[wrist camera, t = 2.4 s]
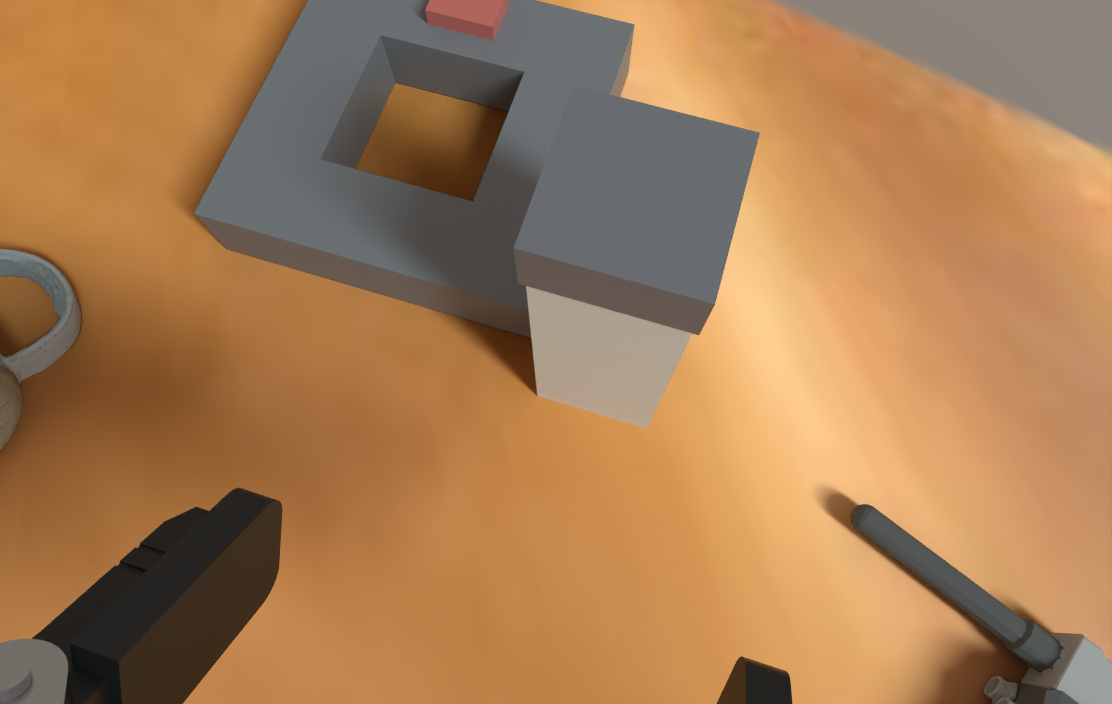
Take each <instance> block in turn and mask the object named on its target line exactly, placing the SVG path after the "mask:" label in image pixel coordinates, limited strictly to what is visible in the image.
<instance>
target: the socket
mask: <svg viewBox="0 0 1112 704" xmlns="http://www.w3.org/2000/svg"><path fill="white" fill-rule="evenodd" d="M633 32H634V24H630V23H626V22H622V21H618V20H614V19H609V18H605V17H601V16H597V15H593V14H589V13H585V12H581V11H577V10H572V9H568V8H564V7H560V6H556V5H552V4H548V3H544V2H540V1H536V0H308V1H307V3H306V5H305V7H304V9H303V11H302V12H301V14H300V16H299V18H298V20H297V22H296V24H295V25H294V27H293V29H292V31H291V33H290V35H289V37H288V39H287V40H286V42H285V44H284V46H283V48H282V50H281V52H280V53H279V55H278V57H277V59H276V61H275V63H274V65H273V67H272V68H271V70H270V72H269V74H268V76H267V78H266V80H265V81H264V83H263V85H262V87H261V89H260V91H259V93H258V94H257V96H256V98H255V100H254V102H253V104H252V106H251V108H250V109H249V111H248V113H247V115H246V117H245V119H244V121H243V122H242V124H241V126H240V128H239V130H238V132H237V134H236V136H235V137H234V139H233V141H232V143H231V145H230V147H229V149H228V150H227V152H226V154H225V156H224V158H223V160H222V162H221V164H220V165H219V167H218V169H217V171H216V173H215V175H214V177H213V178H212V180H211V182H210V184H209V186H208V188H207V190H206V192H205V193H204V195H203V197H202V199H201V201H200V203H199V205H198V206H197V208H196V210H195V212H194V215H195V216H196V217H197V218H198V219H199V220H200V221H201V222H202V223H203V224H204V225H205V227H206V228H207V229H208V230H209V231H210V232H211V233H212V234H213V235H214V236H215V237H216V238H217V239H218V241H219V242H220V243H221V244H222V245H223V246H224V247H225V248H226V249H228V250H231V251H235V252H238V253H242V254H245V255H248V256H252V257H255V258H259V259H262V260H265V261H269V262H272V263H276V264H279V265H283V266H286V267H289V268H293V269H296V270H300V271H303V272H306V273H310V274H313V275H317V276H320V277H324V278H327V279H330V280H334V281H337V282H341V283H344V284H347V285H351V286H354V287H358V288H361V289H364V290H368V291H371V292H375V293H378V294H382V295H385V296H388V297H392V298H395V299H399V300H402V301H405V302H409V303H412V304H416V305H419V306H422V307H426V308H429V309H433V310H436V311H440V312H443V313H446V314H450V315H453V316H457V317H460V318H463V319H467V320H470V321H474V322H477V323H481V324H484V325H487V326H491V327H494V328H498V329H501V330H504V331H508V332H511V333H515V334H518V335H521V336H525V337H528V338H531V329H530V320H529V310H528V300H527V291H526V286H525V285H521V284H518V279H517V271H516V263H515V255H514V245H515V243H516V240H517V237H518V235H519V232H520V229H521V226H522V224H523V221H524V218H525V216H526V213H527V210H528V208H529V205H530V202H531V199H532V197H533V194H534V191H535V189H536V186H537V183H538V180H539V178H540V175H541V172H542V170H543V167H544V164H545V161H546V159H547V156H548V153H549V151H550V148H551V145H552V142H553V140H554V137H555V134H556V132H557V129H558V126H559V123H560V121H561V118H562V115H563V113H564V110H565V107H566V105H567V102H568V99H569V96H570V94H571V91H572V88H573V86H578V87H582V88H586V89H590V90H594V91H598V92H601V93H605V94H609V95H613V96H617V97H620V95H621V92H622V89H623V86H624V83H625V81H626V78H627V75H628V71H629V63H630V55H631V47H632V39H633ZM395 82H396V83H400V84H404V85H408V86H412V87H416V88H419V89H423V90H427V91H431V92H435V93H439V94H442V95H446V96H450V97H454V98H458V99H462V100H465V101H469V102H473V103H477V104H481V105H485V106H488V107H492V108H496V109H500V110H504V111H508V115H507V117H506V120H505V122H504V125H503V127H502V130H501V132H500V135H499V137H498V140H497V142H496V145H495V147H494V150H493V152H492V155H491V157H490V160H489V162H488V165H487V167H486V170H485V172H484V175H483V177H482V180H481V182H480V185H479V187H478V190H477V192H476V195H475V197H474V200H473V201H470V200H466V199H463V198H459V197H455V196H452V195H448V194H444V193H441V192H437V191H433V190H430V189H426V188H423V187H419V186H415V185H412V184H408V183H404V182H401V181H397V180H394V179H390V178H386V177H383V176H379V175H375V174H372V173H368V172H364V171H361V170H357V169H355V168H356V166H357V163H358V161H359V159H360V157H361V155H362V153H363V151H364V148H365V146H366V144H367V142H368V140H369V138H370V135H371V133H372V131H373V129H374V127H375V125H376V123H377V120H378V118H379V116H380V114H381V112H382V110H383V108H384V105H385V103H386V101H387V99H388V97H389V95H390V93H391V90H392V88H393V86H394V84H395Z"/></svg>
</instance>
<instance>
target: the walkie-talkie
mask: <svg viewBox="0 0 1112 704" xmlns="http://www.w3.org/2000/svg"><path fill="white" fill-rule="evenodd" d="M850 516H851V523H852V525H853V526H854V528H855V529H857V530H858V531H859V532H861V533H862V534H863V535H865V536H866V537H867V538H868V539H870V540H871V541H872V542H874V543H875V544H876V545H878V546H879V547H880V548H882V549H883V550H884V551H886V552H887V553H888V554H889V555H891V556H892V557H893V558H895V559H896V560H897V561H899V562H900V563H901V564H903V565H904V566H905V567H906V568H908V569H909V570H910V571H912V572H913V573H914V574H916V575H917V576H918V577H920V578H921V579H922V580H924V581H925V582H926V583H927V584H929V585H930V586H931V587H933V588H934V589H935V590H937V591H938V592H939V593H941V594H942V595H943V596H944V597H946V598H947V599H948V600H950V601H951V602H952V603H954V604H955V605H956V606H958V607H959V608H960V609H961V610H963V611H964V612H965V613H967V614H968V615H969V616H971V617H972V618H973V619H975V620H976V621H977V622H979V623H980V624H981V625H982V626H984V627H985V628H986V629H988V630H989V631H990V632H992V633H993V634H994V635H996V636H997V637H998V638H999V639H1001V640H1002V641H1003V642H1005V644H1006V648H1007V649H1008V650H1009V651H1010V652H1012V653H1013V654H1014V655H1016V656H1017V657H1018V658H1020V659H1021V660H1022V661H1023V662H1025V663H1026V664H1027V665H1029V666H1030V668H1029V669H1028V671H1027V673H1026V675H1025V676H1024V678H1023V680H1022V682H1021V683H1022V684H1016V683H1015V682H1009V681H1005V680H1004V679H1003V678H1001V677H1000V676H994V677H993V678H992V679H990V680H989V681H988V682H987V684H986V686H985V689H984V693H985V695H987V696H988V697H989V698H990V699H992V704H1112V662H1111V661H1110V660H1109V659H1107V658H1106V656H1105V654H1104V652H1103V650H1102V649H1101V648H1100V647H1098V646H1097V645H1096V644H1094V643H1093V642H1092V641H1090V640H1089V639H1088V638H1086V637H1085V636H1083V635H1082V634H1069V633H1051V634H1049V633H1048V632H1046V631H1045V630H1044V629H1042V628H1041V627H1040V626H1038V625H1037V624H1036V623H1034V622H1033V621H1032V620H1024V619H1022V618H1021V617H1020V616H1018V615H1017V614H1016V613H1014V612H1013V611H1012V610H1010V609H1009V608H1008V607H1006V606H1005V605H1003V604H1002V603H1001V602H999V601H998V600H997V599H995V598H994V597H993V596H991V595H990V594H989V593H987V592H986V591H985V590H983V589H982V588H981V587H979V586H978V585H977V584H975V583H974V582H973V581H971V580H970V579H969V578H967V577H966V576H965V575H963V574H962V573H961V572H959V571H958V570H957V569H955V568H954V567H953V566H951V565H950V564H949V563H947V562H946V561H945V560H943V559H942V558H941V557H939V556H938V555H937V554H935V553H934V552H933V551H931V550H930V549H929V548H927V547H926V546H925V545H923V544H922V543H921V542H919V541H918V540H917V539H915V538H914V537H913V536H911V535H910V534H909V533H907V532H906V531H905V530H903V529H902V528H901V527H899V526H898V525H897V524H895V523H894V522H893V521H891V520H890V519H889V518H887V517H886V516H885V515H883V514H882V513H881V512H879V511H878V510H877V509H875V508H874V507H873V506H870V505H866V504H863V505H858V506H857V507H856V508H854V509H853V510H852V513H851V515H850Z"/></svg>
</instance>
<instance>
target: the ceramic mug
mask: <svg viewBox="0 0 1112 704" xmlns="http://www.w3.org/2000/svg"><path fill="white" fill-rule="evenodd" d="M0 276H2V277H8V276H12V277H20V278H27V279H31V280H32V281H33V282H36V283H39V284H40V286H41V287H42V288H43V289H44V290H45V292H46V293H47V294H48V295H49V296H50V297H51V299H52V300H53V301H54V311H55V312H56V314H57V315H59V316H60V319H59V321H58V322H57V323H56V324H55V326H54V327H53V328H52V329H51V330H50V332H48V333H47V334H46V335H44V336H43V337H41V338H40V339H38V340H37V341H36V342H34V343H33V344H32V345H30V346H28V347H26V348H23V349H22V350H20V351H18V352H17V353H15V354H14V355H11V356H8V357H5V356H3V355H2V354H1V353H0V450H1V449H2V448H3V447H4V446H5V445H6V443H7V442H8V441H9V439H10V437H11V435H12V434H13V432H14V430H15V428H16V427H17V425H18V422H19V419H20V416H21V413H22V408H23V393H22V389H21V386H20V382H21V381H22V380H25V379H27V378H28V377H30V376H33V375H35V374H37V373H39V372H41V371H43V370H44V369H46V368H48V367H50V366H51V365H52V364H53V363H54V362H55V361H56V360H57V359H58V358H59V357H61V356H63V354H64V353H65V352H66V351H67V350H68V349H69V348H70V347H71V346H72V345H73V343H74V342H75V340H76V338H77V336H78V334H79V332H80V327H81V314H80V307H79V304H78V302H77V299H76V296H75V293H74V291H73V289H72V287H71V285H70V284H69V282H68V280H67V279H66V277H65V276H64V275H63V274H62V273H61V272H60V271H59V269H58V268H56V267H55V266H54V265H52V264H51V263H49V262H48V261H46V260H45V259H43V258H41V257H39V256H36V255H34V254H30V253H27V252H22V251H17V250H7V249H0Z"/></svg>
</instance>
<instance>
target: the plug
mask: <svg viewBox="0 0 1112 704" xmlns="http://www.w3.org/2000/svg"><path fill="white" fill-rule="evenodd" d="M759 134H760V133H758V132H755V131H751V130H747V129H743V128H739V127H735V126H731V125H727V124H723V123H719V122H715V121H711V120H707V119H704V118H700V117H696V116H692V115H688V114H684V113H680V112H676V111H672V110H668V109H664V108H660V107H656V106H653V105H649V104H645V103H641V102H637V101H633V100H629V99H625V98H621V97H617V96H613V95H609V94H605V93H601V92H598V91H594V90H590V89H586V88H582V87H578V86H573V88H572V91H571V94H570V96H569V99H568V102H567V105H566V107H565V110H564V113H563V115H562V118H561V121H560V123H559V126H558V129H557V132H556V134H555V137H554V140H553V142H552V145H551V148H550V151H549V153H548V156H547V159H546V161H545V164H544V167H543V170H542V172H541V175H540V178H539V180H538V183H537V186H536V189H535V191H534V194H533V197H532V199H531V202H530V205H529V208H528V210H527V213H526V216H525V218H524V221H523V224H522V226H521V229H520V232H519V235H518V237H517V240H516V243H515V245H514V255H515V263H516V271H517V279H518V284H521V285H525V286H526V291H527V300H528V310H529V320H530V329H531V339H532V349H533V358H534V368H535V378H536V387H537V396H539V397H543V398H546V399H549V400H553V401H556V402H559V403H563V404H566V405H569V406H572V407H576V408H579V409H582V410H586V411H589V412H592V413H596V414H599V415H602V416H606V417H609V418H612V419H616V420H619V421H622V422H626V423H629V424H632V425H636V426H639V427H642V428H647V426H648V424H649V422H650V420H651V418H652V416H653V414H654V412H655V410H656V407H657V405H658V403H659V401H660V399H661V397H662V395H663V393H664V391H665V389H666V387H667V385H668V383H669V380H670V378H671V376H672V374H673V372H674V370H675V368H676V366H677V364H678V362H679V360H680V358H681V356H682V353H683V351H684V349H685V347H686V345H687V343H688V341H689V339H690V337H691V335H692V333H693V334H696V335H699V334H700V332H701V330H702V328H703V326H704V324H705V323H706V321H707V319H708V317H709V315H710V313H711V311H712V309H713V307H714V305H715V301H716V298H717V294H718V290H719V286H720V282H721V279H722V275H723V271H724V267H725V263H726V260H727V256H728V252H729V248H730V244H731V241H732V237H733V233H734V229H735V225H736V221H737V218H738V214H739V210H740V206H741V202H742V199H743V195H744V191H745V187H746V183H747V180H748V176H749V172H750V168H751V164H752V160H753V157H754V153H755V149H756V145H757V141H758V138H759Z"/></svg>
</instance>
